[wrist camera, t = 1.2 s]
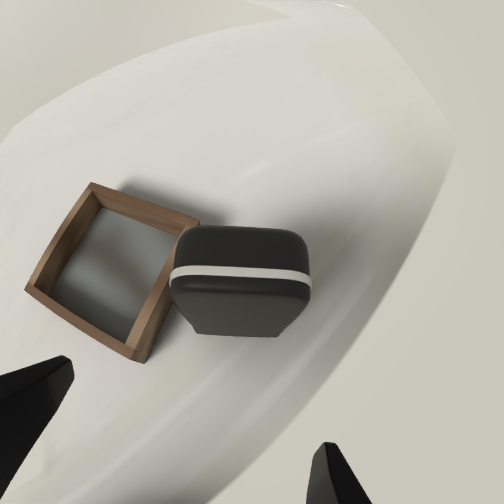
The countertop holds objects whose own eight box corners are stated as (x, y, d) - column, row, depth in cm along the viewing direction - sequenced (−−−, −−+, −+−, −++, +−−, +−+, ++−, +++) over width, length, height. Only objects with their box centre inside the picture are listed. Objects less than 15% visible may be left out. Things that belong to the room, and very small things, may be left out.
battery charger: (281, 292, 24) (317, 218, 14) (281, 338, 22) (323, 294, 12) (196, 288, 24) (171, 210, 14) (192, 334, 22) (158, 286, 12)
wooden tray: (144, 363, 21) (129, 359, 18) (44, 302, 22) (24, 289, 19) (203, 241, 26) (199, 220, 23) (103, 203, 27) (91, 181, 24)
